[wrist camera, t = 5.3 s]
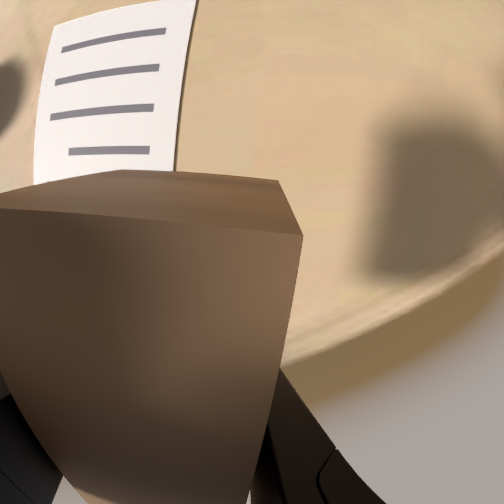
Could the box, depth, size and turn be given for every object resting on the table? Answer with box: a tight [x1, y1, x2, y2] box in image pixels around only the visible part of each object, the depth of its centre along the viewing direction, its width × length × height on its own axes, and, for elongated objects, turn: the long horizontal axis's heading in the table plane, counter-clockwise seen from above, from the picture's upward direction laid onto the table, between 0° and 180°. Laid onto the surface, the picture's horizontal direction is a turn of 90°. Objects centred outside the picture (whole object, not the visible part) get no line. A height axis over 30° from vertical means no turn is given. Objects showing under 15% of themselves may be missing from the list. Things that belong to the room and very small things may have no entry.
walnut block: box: [0, 169, 303, 504], centre depth 6 cm, size 9×4×5 cm, turn 174°
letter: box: [34, 0, 197, 185], centre depth 14 cm, size 14×11×1 cm
